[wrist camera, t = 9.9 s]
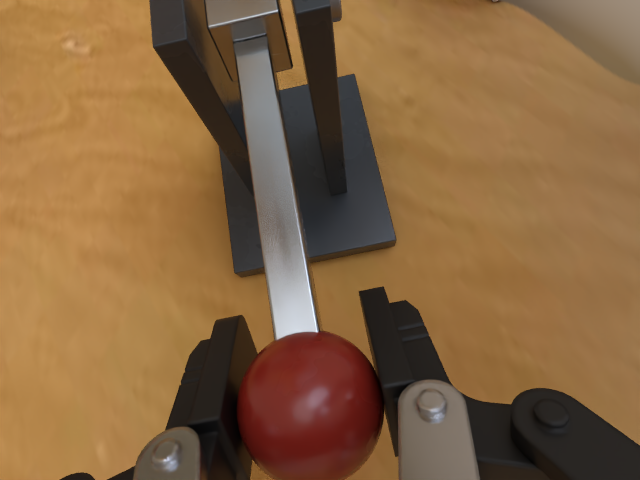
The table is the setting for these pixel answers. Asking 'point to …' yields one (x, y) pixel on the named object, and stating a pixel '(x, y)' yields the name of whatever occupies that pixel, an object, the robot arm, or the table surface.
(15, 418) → the table surface
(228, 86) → the bracket
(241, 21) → the lever
